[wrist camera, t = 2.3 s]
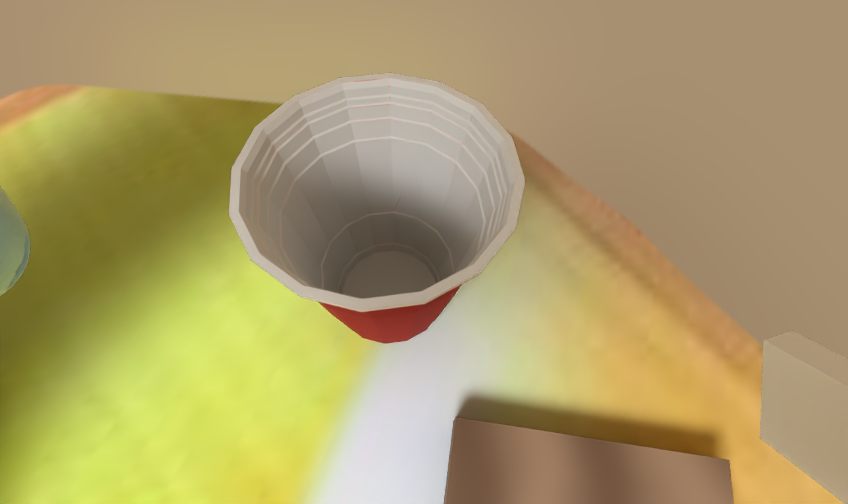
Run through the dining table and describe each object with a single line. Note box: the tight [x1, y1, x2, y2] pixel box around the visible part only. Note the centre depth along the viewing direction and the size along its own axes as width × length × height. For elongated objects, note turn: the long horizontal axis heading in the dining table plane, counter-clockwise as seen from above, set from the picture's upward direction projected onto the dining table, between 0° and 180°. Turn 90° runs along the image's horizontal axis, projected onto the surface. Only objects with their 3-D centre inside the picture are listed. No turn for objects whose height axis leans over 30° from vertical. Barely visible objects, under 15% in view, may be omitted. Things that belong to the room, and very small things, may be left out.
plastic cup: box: [229, 73, 525, 343], centre depth 24 cm, size 11×11×12 cm
